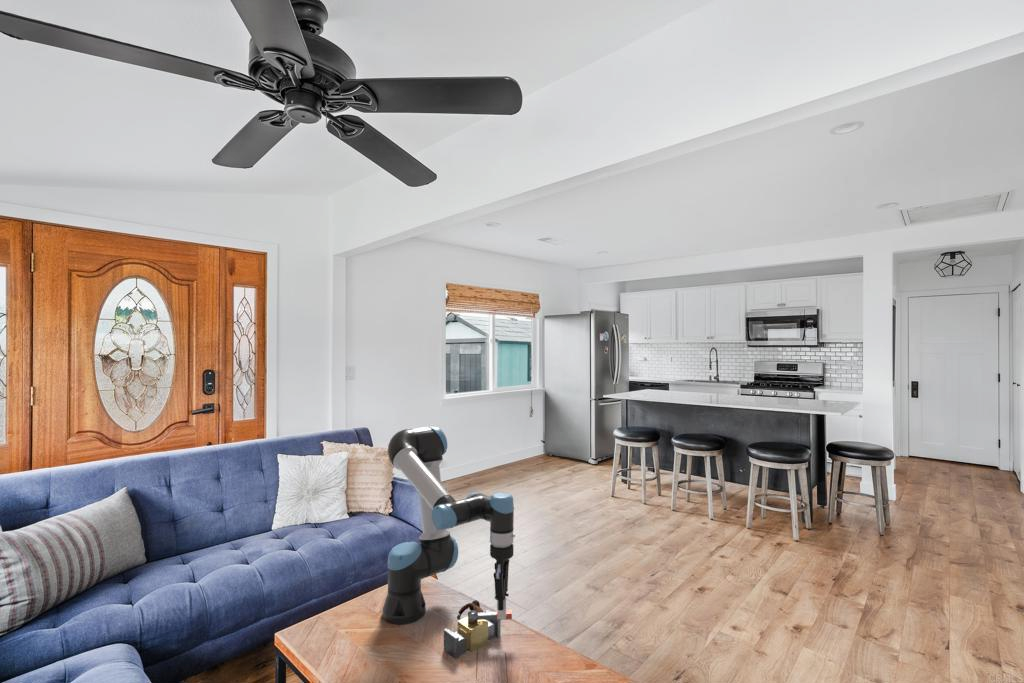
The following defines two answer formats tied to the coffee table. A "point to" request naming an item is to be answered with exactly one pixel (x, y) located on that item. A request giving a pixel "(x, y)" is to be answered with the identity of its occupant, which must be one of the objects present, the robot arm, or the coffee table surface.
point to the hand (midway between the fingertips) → (501, 618)
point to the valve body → (470, 636)
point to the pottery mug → (471, 606)
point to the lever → (485, 616)
